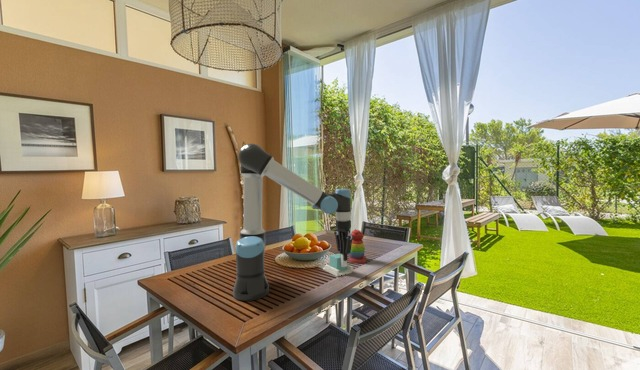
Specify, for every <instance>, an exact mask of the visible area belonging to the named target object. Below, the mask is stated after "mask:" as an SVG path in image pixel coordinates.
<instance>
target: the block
mask: <svg viewBox="0 0 640 370" xmlns="http://www.w3.org/2000/svg"><path fill="white" fill-rule="evenodd" d="M329 261H330V266H331V267H333V268H335V269H338V270H339V272H340V271H343V270H346V267H341V255H340V253H336V254H330V255H329Z"/></svg>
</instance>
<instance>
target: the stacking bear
mask: <svg viewBox="0 0 640 370" xmlns="http://www.w3.org/2000/svg"><path fill="white" fill-rule="evenodd" d="M350 234H351V236H352V235H353V236H354V237H353V239H352V245H351V252H350V253H349V254H348V256H349V258H348V261H349V262H350V263H354V264H358V265H359V264H361V265H362V264H366V263H367V256H365V253H366V250H365V248H366V247H365V244H364V240H363V239H364V237H365V235H364V234H363V233H362V231H361V230H359V229H356V228H354V230H352V231H350Z"/></svg>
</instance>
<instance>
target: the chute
mask: <svg viewBox="0 0 640 370" xmlns="http://www.w3.org/2000/svg"><path fill="white" fill-rule="evenodd" d="M317 268H320V269H321V270H323V271H325V272H327V273H329V274H330V275H333V276H334V277H341V275H342V276H345V274H346V275H348V274H352V272H353V273H354V266H352V265H350V264H348V263H347V267H346V270H343V271H340V272H339V270H338V269H335V268H333V267H331V266H330V263H328V264H326V265H321V266H318V267H317Z"/></svg>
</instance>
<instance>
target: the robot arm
mask: <svg viewBox="0 0 640 370" xmlns="http://www.w3.org/2000/svg"><path fill="white" fill-rule="evenodd" d="M237 157H238V161H239V164H240V175H241V176H242V177H243V228H242V229H241V230H240V232H239V239H238V240H237V241H236V243H235V248H234V249H235V263H236V264H235V265H236V267H235V268H236V279H235V283H234V286H233V290H232V296H233V298H234V299H235V300H237V301H245V302H246V301H248V302H249V301H255V300H259V299H263V298H264V297H266V296H267V295H269V293H270V285H269V282H268V280H267V277H266V274H265V273H266V272H265V251H266V245H267V242H266V229H264V228H263V182H264V181H263V178H264V177H267V178H268V179H270V180H272V181H274V182H275V183H277V184H278V185H280V186H281V187H283V188H285V189H287V190H289V191H290V192H291V193H292V194H294V195H295V196H296V195H297V196H298V197H300V198H301V199H303V200H304V201H306V202H308V203H309V204H311V209H312V210H321V211H322V212H323V213H325V214H328V215H331V214H334V213H335V228H336V229H337V230H336V231H334V233H333V234H334V236H335V242H336V243H335V244H336V248H337V252H339V254H340V255H341V267H347V264H348V255H349V253H350V252H351V245H352V239H353V237H354V236H353V235H352V236H351V231H350V230H351V228H352V221H351V219H352V216H351V215H352V213H351V203H352V201H351V200H352V198H351V196H352V195H351V190H350V189H349V188H336V189H335V192H332V193H327V192H325V191H324V190H321V189H320V187H319V188H318V187H317V186H315V184H312V183H311V182H309V181H308V180H306V179H305V178H303V177H301V176H300V175H298V174H296V173H294V172H293V171H292V170H290V169H289V168H287V167H286V166H284V165H282V164H281V163H279V162H278V161H277V160H275V158H274V156H272V155H271V154H270V153H268V152H267V151H265V149H264V148H262V147H261V146H260V145H258V144H257V143H247V144H245V145H243V146H242V147H241V148H240V149H239V151H238V155H237Z"/></svg>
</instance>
